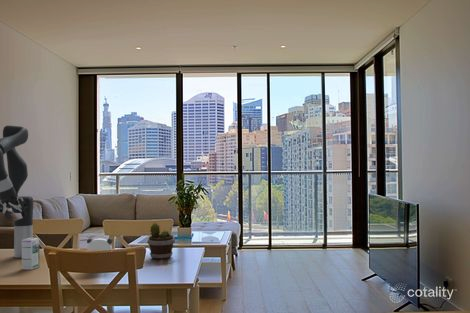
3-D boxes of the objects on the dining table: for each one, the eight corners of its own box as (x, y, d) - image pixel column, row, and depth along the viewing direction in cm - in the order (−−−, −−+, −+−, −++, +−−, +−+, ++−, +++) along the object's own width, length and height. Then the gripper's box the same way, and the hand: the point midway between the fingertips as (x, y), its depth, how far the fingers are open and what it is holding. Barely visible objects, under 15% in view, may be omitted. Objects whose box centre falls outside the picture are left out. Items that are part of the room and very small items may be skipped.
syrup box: (32, 269, 209) (32, 239, 209) (21, 269, 210) (21, 239, 210) (39, 267, 214) (39, 237, 214) (29, 266, 215) (29, 237, 216)
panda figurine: (114, 266, 214) (114, 236, 214) (110, 272, 203) (110, 240, 203) (88, 267, 212) (88, 236, 213) (84, 273, 201) (84, 240, 201)
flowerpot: (177, 255, 240) (177, 219, 240) (171, 261, 224) (170, 222, 225) (152, 255, 241) (152, 219, 241) (143, 261, 226) (143, 222, 226)
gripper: (22, 182, 201) (34, 212, 207) (-4, 186, 205) (9, 215, 210) (11, 189, 195) (25, 221, 200) (-15, 193, 198) (-1, 223, 204)
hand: (17, 218), depth 205 cm, fingers open, 8 cm apart
